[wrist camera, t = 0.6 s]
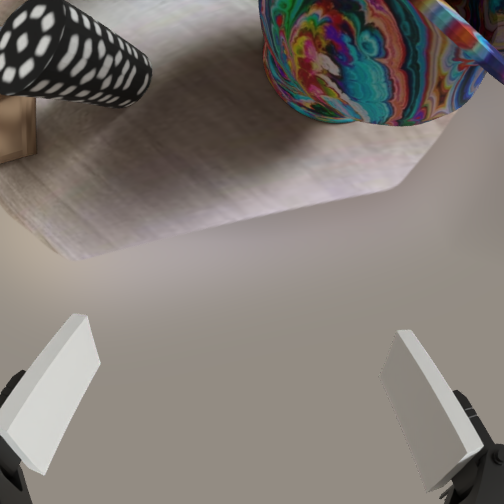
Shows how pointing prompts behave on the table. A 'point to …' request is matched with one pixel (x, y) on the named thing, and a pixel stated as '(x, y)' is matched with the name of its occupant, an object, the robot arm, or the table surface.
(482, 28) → the vase
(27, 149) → the tray
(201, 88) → the table surface
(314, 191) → the table surface
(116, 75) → the spotted tube
